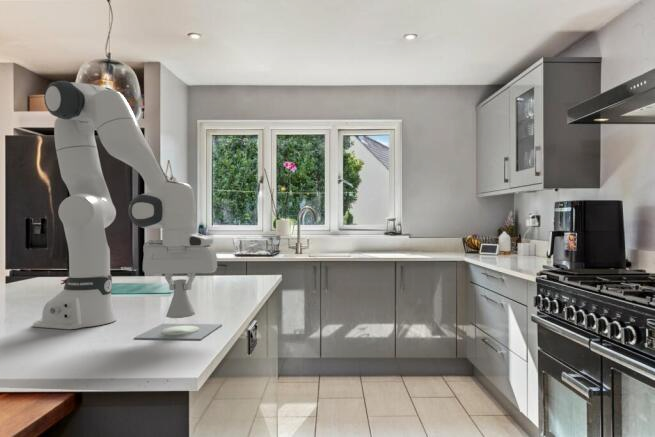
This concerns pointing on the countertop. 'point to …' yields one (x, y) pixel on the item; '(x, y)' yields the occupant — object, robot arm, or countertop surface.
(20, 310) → the countertop surface
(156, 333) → the card
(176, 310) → the flask
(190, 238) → the robot arm
